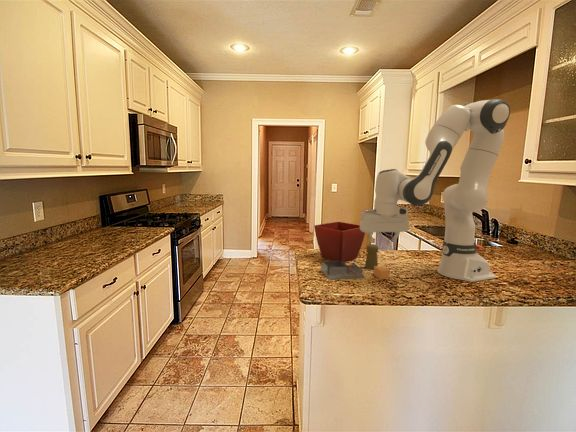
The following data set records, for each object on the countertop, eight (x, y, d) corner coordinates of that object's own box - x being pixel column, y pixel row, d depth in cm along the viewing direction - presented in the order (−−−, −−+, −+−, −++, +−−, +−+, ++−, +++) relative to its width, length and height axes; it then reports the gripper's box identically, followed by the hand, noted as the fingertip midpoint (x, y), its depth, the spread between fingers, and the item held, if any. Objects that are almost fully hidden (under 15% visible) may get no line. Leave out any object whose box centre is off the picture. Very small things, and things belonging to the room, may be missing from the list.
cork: (380, 267, 138) (381, 244, 136) (374, 270, 133) (375, 247, 132) (368, 264, 142) (369, 242, 140) (362, 267, 137) (363, 244, 136)
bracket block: (382, 274, 129) (382, 265, 128) (389, 279, 123) (389, 270, 122) (373, 275, 128) (374, 266, 128) (380, 280, 122) (380, 270, 122)
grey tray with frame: (352, 268, 137) (352, 258, 136) (363, 278, 124) (364, 267, 123) (320, 269, 134) (321, 259, 134) (329, 279, 122) (329, 269, 121)
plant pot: (312, 256, 154) (313, 224, 152) (337, 251, 166) (338, 221, 163) (340, 266, 139) (341, 231, 137) (365, 259, 151) (367, 226, 149)
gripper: (364, 210, 117) (362, 244, 119) (412, 210, 120) (409, 243, 122) (358, 208, 123) (356, 241, 125) (404, 208, 126) (401, 240, 128)
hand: (383, 242), depth 123 cm, fingers open, 8 cm apart
